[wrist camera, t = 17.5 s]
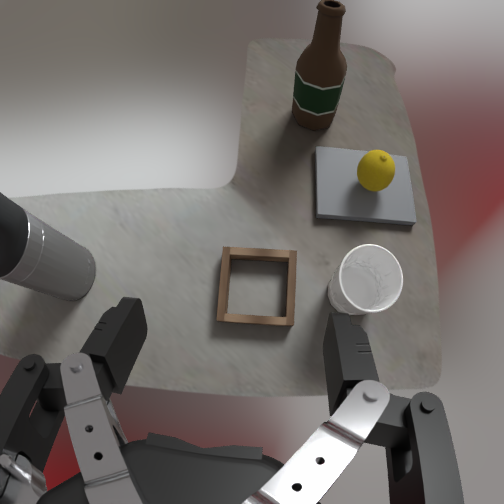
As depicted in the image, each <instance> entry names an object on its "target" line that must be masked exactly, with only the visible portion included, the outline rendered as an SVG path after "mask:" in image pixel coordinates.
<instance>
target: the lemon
mask: <svg viewBox="0 0 504 504" xmlns="http://www.w3.org/2000/svg"><path fill="white" fill-rule="evenodd" d="M394 175H395V163H394V161H393V159H392V157H391V156H390V155H389V154H388V153H386V152H384V151H382V150H372V151H370V152H368V153H367V154H365V155H364V156H363V157H362V159H361V160H360V162H359V164H358V167H357V177H358V180H359V182H360V184H361V185H362V186H363V187H364V188H365V189H367V190H369V191H381V190H383V189H385V188H387V187H388V186H389V184H390V183H391V182H392V180H393V178H394Z"/></svg>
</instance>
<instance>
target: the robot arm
mask: <svg viewBox="0 0 504 504" xmlns="http://www.w3.org/2000/svg"><path fill="white" fill-rule="evenodd" d="M94 277H95V262H94V258H93V256H92V254H91V253H90V252H89V251H88V250H87V249H86V248H84V247H83V246H81V245H79V244H78V243H76V242H75V241H73V240H71V239H70V238H68V237H67V236H65V235H63V234H62V233H60V232H59V231H57V230H55V229H54V228H52V227H51V226H49V225H48V224H46V223H45V222H43V221H41V220H40V219H38V218H37V217H35V216H34V215H32V214H31V213H29V212H28V211H26V210H25V209H23V208H21V207H20V206H19V205H17V204H16V203H14V202H13V201H11V200H10V199H8V198H7V197H6V196H4V195H3V194H2V193H0V279H2V280H4V281H7V282H10V283H14V284H17V285H20V286H23V287H26V288H29V289H32V290H35V291H38V292H42V293H45V294H48V295H51V296H54V297H58V298H61V299H65V300H70V301H72V300H77V299H80V298H81V297H83V296H84V295H85V294H86V293H87V292H88V291H89V289H90V288H91V286H92V284H93V281H94ZM146 336H147V323H146V319H145V314H144V310H143V305H142V301H141V300H140V299H139V298H130V297H123V298H122V299H121V301H120V302H119V304H118V305H117V307H111V308H110V309H109V310H108V311H106V312H105V313H104V314H103V315H102V317H101V318H100V320H99V323H97V325H96V326H95V328H94V330H93V331H92V333H91V334H90V336H89V338H88V339H87V341H86V342H85V344H84V346H83V347H82V349H81V351H80V352H79V353H73V354H71V355H69V356H67V357H66V358H65V359H64V360H63V361H62V363H50V364H46V363H45V361H44V360H43V358H42V357H41V356H39V355H36V354H32V355H28V356H26V357H24V358H23V359H22V360H21V361H20V362H19V364H18V365H17V367H16V368H15V370H14V372H13V374H12V375H11V377H10V379H9V381H8V382H7V384H6V386H5V387H4V389H3V391H2V393H1V395H0V504H321V503H320V502H319V501H320V499H321V498H322V497H323V496H324V495H325V494H326V492H327V491H328V490H329V489H330V487H331V486H332V485H333V484H334V482H335V481H336V480H337V478H338V477H339V476H340V475H341V473H342V472H343V471H344V469H345V468H346V467H347V465H348V464H349V462H350V461H351V460H352V458H353V457H354V455H355V454H356V453H357V451H358V450H359V449H360V447H361V446H362V444H363V443H364V442H365V443H369V444H374V445H378V446H383V447H385V449H386V458H387V468H388V481H389V496H390V504H464V499H463V492H462V486H461V480H460V475H459V470H458V465H457V460H456V455H455V451H454V446H453V442H452V437H451V433H450V429H449V426H448V421H447V418H446V414H445V411H444V407H443V404H442V402H441V400H440V399H439V398H438V397H437V396H436V395H434V394H432V393H429V392H420V393H417V394H416V395H414V396H413V398H412V399H409V398H404V397H399V396H395V395H393V394H390V393H389V391H388V389H387V388H386V387H385V386H384V385H383V384H381V383H380V382H379V378H378V374H377V370H376V366H375V362H374V359H373V355H372V353H371V347H370V345H369V340H368V337H367V334H366V332H365V331H364V330H363V329H362V328H361V326H360V325H352V324H351V320H350V316H349V314H348V313H330V315H329V319H328V324H327V328H326V333H325V337H324V343H323V355H324V364H325V372H326V381H327V391H328V400H329V411H330V416H332V417H331V418H330V419H329V420H328V421H327V422H324V423H323V424H322V425H320V427H319V428H318V429H317V430H316V431H315V432H314V433H313V435H312V436H311V437H310V438H309V439H308V440H307V441H306V443H305V444H304V445H303V446H302V447H301V448H300V449H299V450H298V451H297V452H296V453H295V455H294V456H293V457H292V458H291V459H290V460H289V461H288V462H287V463H286V464H285V465H284V464H283V463H281V462H280V461H278V460H276V459H274V458H272V457H269V456H266V455H263V454H262V447H247V446H236V445H232V446H223V447H213V448H200V447H198V446H195V445H192V444H190V443H187V442H185V441H183V440H180V439H178V438H175V437H170V436H164V435H159V434H154V433H148V437H147V439H144V440H137V441H133V442H130V443H128V441H127V440H126V438H125V436H124V433H123V431H122V429H121V426H120V424H119V421H118V418H117V416H116V413H115V411H114V408H113V405H112V402H111V400H110V396H111V394H112V392H114V393H118V394H122V391H123V389H124V386H125V384H126V382H127V380H128V377H129V375H130V373H131V370H132V368H133V366H134V364H135V361H136V359H137V357H138V355H139V352H140V350H141V348H142V346H143V344H144V341H145V339H146ZM36 400H37V403H36V405H35V407H34V409H33V412H32V413H31V416H30V418H29V414H30V412H31V409H32V407H33V405H34V403H35V401H36ZM64 416H66V420H67V424H68V428H69V432H70V436H71V440H72V444H73V447H74V451H75V454H76V457H77V460H78V464H79V467H80V470H81V472H79V473H78V474H76V475H74V476H73V477H71V478H70V479H68V480H66V481H64V482H63V483H61V484H59V485H58V486H56V487H54V488H52V489H51V490H49V491H47V487H46V480H45V477H44V475H43V470H44V467H45V465H46V462H47V459H48V456H49V454H50V451H51V448H52V446H53V443H54V440H55V438H56V436H57V433H58V431H59V428H60V426H61V423H62V421H63V418H64Z"/></svg>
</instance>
